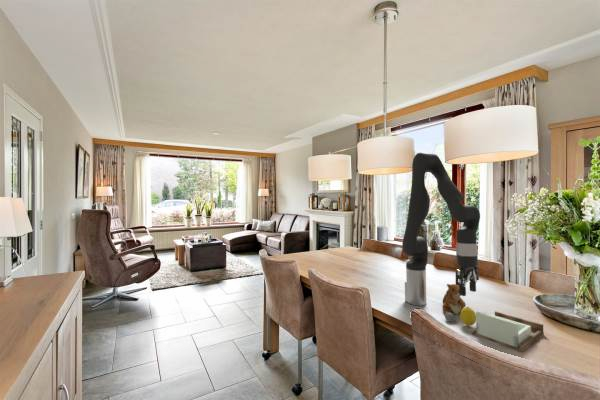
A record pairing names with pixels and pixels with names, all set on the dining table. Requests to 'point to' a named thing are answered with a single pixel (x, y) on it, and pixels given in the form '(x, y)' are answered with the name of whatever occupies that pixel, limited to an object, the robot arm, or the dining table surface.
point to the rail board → (535, 327)
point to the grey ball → (449, 316)
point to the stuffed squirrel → (453, 300)
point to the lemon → (468, 316)
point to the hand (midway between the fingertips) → (467, 293)
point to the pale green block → (502, 329)
